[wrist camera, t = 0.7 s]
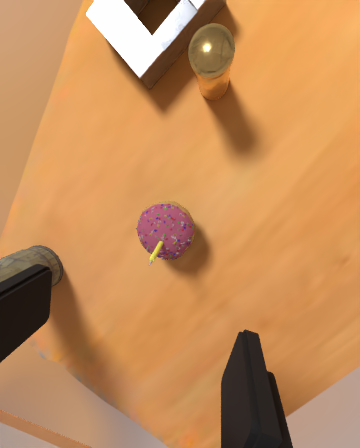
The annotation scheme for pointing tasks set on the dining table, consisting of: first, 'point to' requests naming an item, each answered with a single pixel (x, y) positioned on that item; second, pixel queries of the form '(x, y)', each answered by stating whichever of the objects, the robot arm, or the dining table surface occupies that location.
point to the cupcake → (165, 230)
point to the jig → (146, 43)
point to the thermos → (31, 262)
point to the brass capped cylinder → (212, 59)
